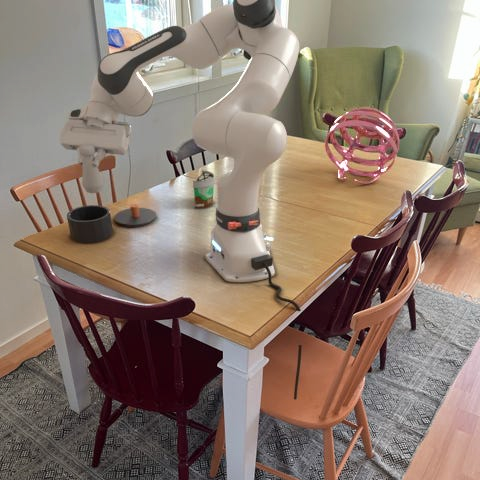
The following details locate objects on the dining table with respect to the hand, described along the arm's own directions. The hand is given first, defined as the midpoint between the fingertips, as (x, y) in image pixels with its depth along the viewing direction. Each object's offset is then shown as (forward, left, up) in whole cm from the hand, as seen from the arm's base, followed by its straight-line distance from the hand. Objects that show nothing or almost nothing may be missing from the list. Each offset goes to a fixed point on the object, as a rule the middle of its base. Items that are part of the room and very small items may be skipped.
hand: (87, 164), depth 135 cm
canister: (+2, +2, -22) cm, 22 cm away
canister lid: (+10, -12, -21) cm, 26 cm away
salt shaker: (+1, 0, -8) cm, 8 cm away
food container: (+17, -38, -22) cm, 47 cm away
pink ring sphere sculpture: (+28, -103, -22) cm, 109 cm away
